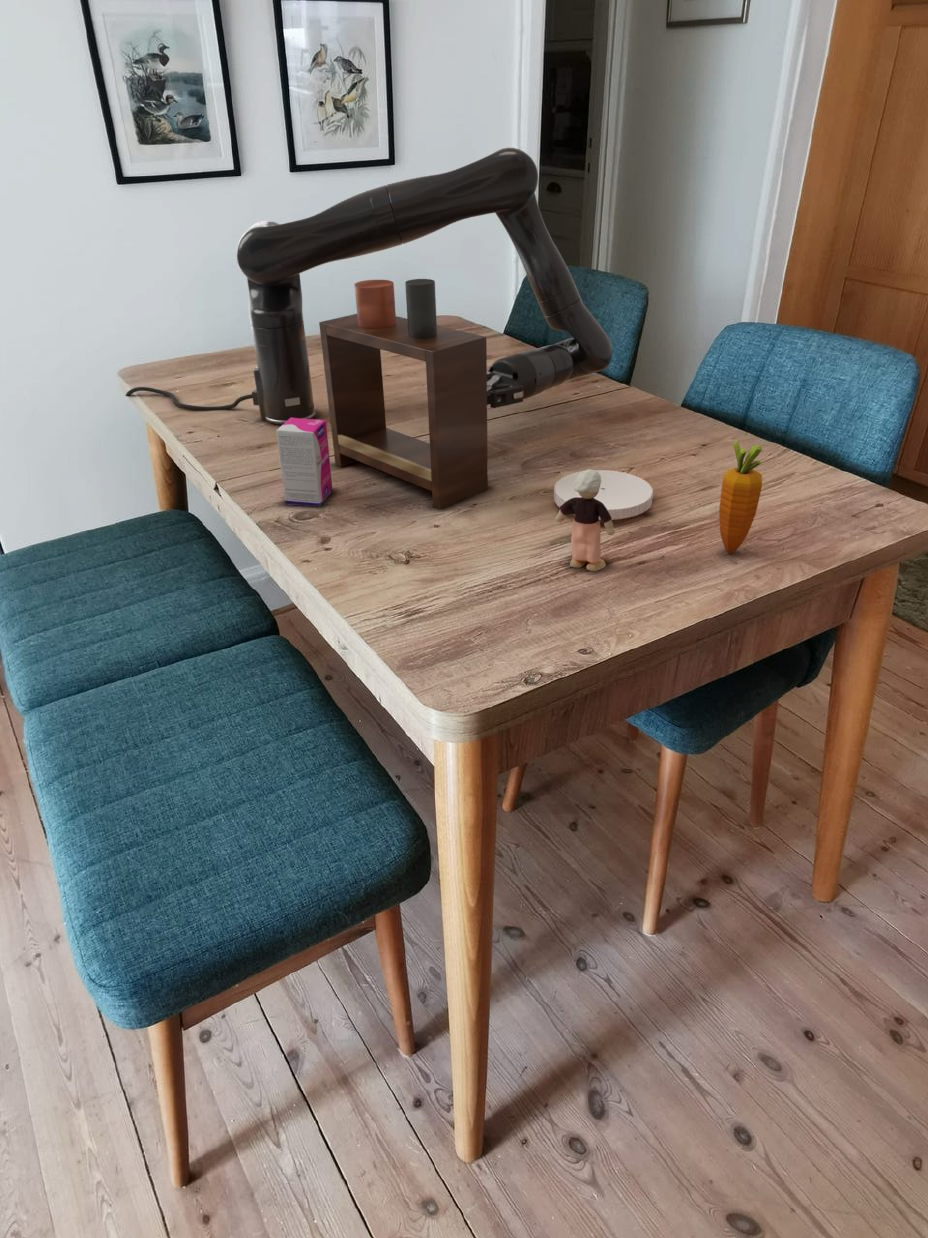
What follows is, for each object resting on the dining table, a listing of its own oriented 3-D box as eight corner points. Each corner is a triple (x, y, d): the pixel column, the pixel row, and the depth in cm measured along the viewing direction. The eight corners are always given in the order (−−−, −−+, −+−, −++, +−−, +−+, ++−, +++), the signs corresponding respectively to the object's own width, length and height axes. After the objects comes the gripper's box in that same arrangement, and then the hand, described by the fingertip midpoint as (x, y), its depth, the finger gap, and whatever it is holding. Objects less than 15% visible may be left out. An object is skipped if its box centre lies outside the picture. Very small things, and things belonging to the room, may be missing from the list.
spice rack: (335, 464, 136) (313, 271, 120) (382, 448, 142) (367, 261, 126) (440, 509, 121) (430, 295, 105) (488, 488, 126) (486, 282, 110)
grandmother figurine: (615, 560, 106) (623, 467, 100) (610, 574, 103) (617, 480, 97) (557, 552, 109) (560, 461, 102) (550, 566, 106) (553, 473, 99)
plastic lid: (551, 485, 127) (551, 470, 125) (643, 485, 126) (644, 469, 125) (556, 526, 115) (557, 510, 114) (658, 526, 114) (660, 509, 113)
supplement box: (322, 507, 122) (312, 432, 116) (284, 504, 123) (272, 430, 117) (334, 491, 127) (326, 418, 121) (298, 488, 128) (288, 416, 122)
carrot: (705, 545, 109) (721, 436, 101) (741, 543, 110) (761, 434, 102) (717, 563, 105) (736, 451, 97) (756, 561, 105) (777, 448, 97)
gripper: (491, 346, 143) (417, 368, 134) (555, 361, 135) (481, 385, 125) (491, 389, 147) (420, 413, 138) (553, 406, 139) (482, 433, 129)
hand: (449, 400), depth 131 cm, fingers closed on shaker, 4 cm apart
